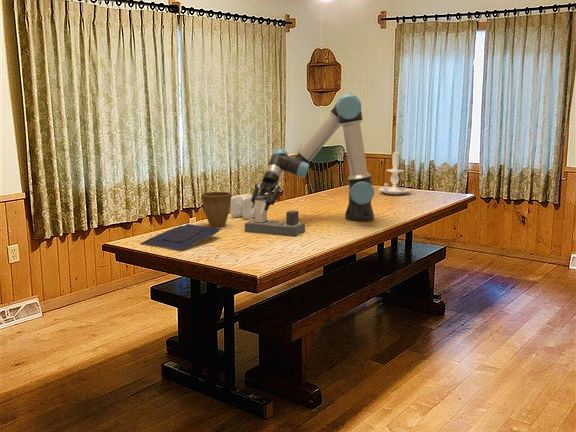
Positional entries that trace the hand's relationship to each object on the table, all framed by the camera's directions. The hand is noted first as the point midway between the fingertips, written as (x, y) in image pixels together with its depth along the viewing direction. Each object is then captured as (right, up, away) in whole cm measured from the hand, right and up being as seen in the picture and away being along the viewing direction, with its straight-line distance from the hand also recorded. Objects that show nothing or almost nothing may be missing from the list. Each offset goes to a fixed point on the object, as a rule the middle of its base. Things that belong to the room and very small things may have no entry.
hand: (257, 215), depth 289 cm
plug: (+2, -3, +4) cm, 5 cm away
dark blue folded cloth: (-32, -12, -17) cm, 38 cm away
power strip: (+8, -8, +2) cm, 12 cm away
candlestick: (+83, +13, +112) cm, 140 cm away
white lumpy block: (-7, -1, +37) cm, 37 cm away
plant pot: (-21, -5, +15) cm, 27 cm away
